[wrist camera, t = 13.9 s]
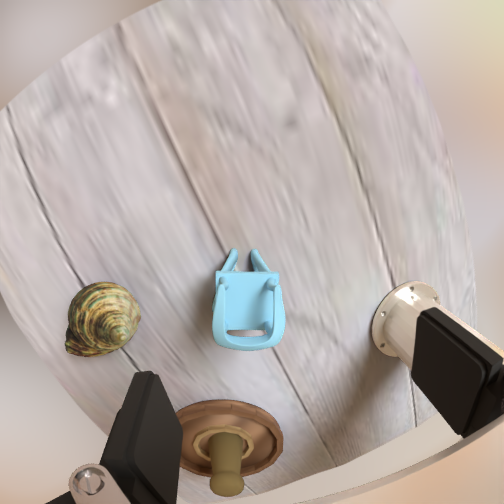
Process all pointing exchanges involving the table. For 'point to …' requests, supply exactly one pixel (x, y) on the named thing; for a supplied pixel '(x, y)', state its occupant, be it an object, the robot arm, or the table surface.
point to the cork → (226, 464)
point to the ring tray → (232, 421)
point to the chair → (247, 305)
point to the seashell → (101, 319)
